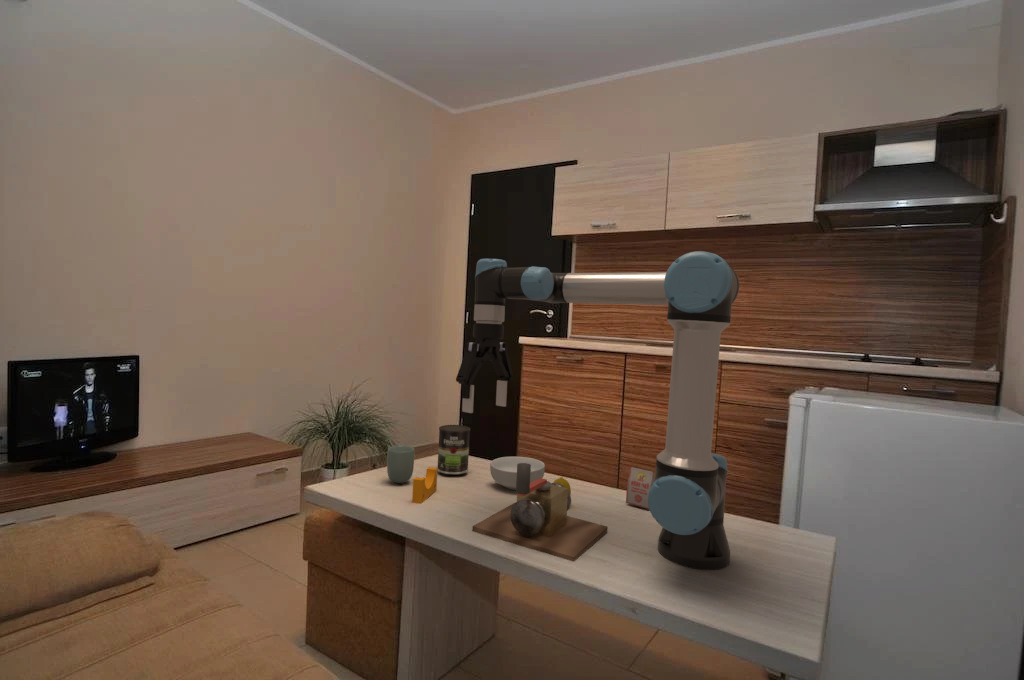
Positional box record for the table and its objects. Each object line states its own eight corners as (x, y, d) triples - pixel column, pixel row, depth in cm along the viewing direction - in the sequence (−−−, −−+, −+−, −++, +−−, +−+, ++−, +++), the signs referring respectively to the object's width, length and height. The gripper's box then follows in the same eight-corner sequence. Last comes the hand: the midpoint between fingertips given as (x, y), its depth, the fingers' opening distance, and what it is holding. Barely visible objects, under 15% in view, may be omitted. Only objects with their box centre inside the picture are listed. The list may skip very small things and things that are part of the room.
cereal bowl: (500, 474, 165) (501, 453, 165) (549, 482, 160) (550, 460, 160) (480, 490, 149) (482, 466, 149) (535, 499, 144) (536, 474, 143)
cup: (418, 480, 155) (419, 448, 154) (399, 487, 148) (401, 453, 148) (399, 475, 159) (401, 444, 158) (381, 481, 152) (382, 448, 152)
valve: (572, 520, 125) (574, 484, 125) (542, 543, 112) (544, 502, 111) (539, 511, 130) (541, 477, 130) (507, 532, 116) (509, 493, 116)
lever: (539, 484, 123) (541, 453, 123) (553, 487, 121) (554, 455, 121) (511, 499, 111) (513, 464, 111) (526, 503, 110) (527, 468, 109)
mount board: (607, 532, 123) (607, 526, 123) (573, 564, 106) (573, 557, 105) (515, 507, 136) (515, 502, 136) (472, 532, 119) (472, 526, 119)
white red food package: (631, 499, 147) (633, 465, 147) (653, 505, 143) (655, 470, 143) (625, 503, 144) (627, 468, 144) (648, 509, 140) (650, 473, 140)
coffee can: (468, 475, 163) (470, 431, 162) (436, 474, 162) (438, 430, 162) (468, 465, 173) (470, 425, 173) (438, 465, 172) (440, 424, 172)
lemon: (567, 511, 136) (569, 481, 135) (547, 507, 137) (549, 478, 137) (571, 504, 141) (573, 476, 141) (552, 501, 143) (554, 473, 142)
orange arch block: (422, 488, 149) (423, 466, 148) (436, 489, 148) (437, 468, 148) (406, 502, 137) (407, 478, 137) (421, 503, 136) (422, 480, 136)
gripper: (505, 323, 136) (501, 401, 137) (443, 320, 116) (439, 412, 116) (528, 324, 132) (525, 405, 133) (468, 321, 111) (464, 417, 112)
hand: (485, 409), depth 125 cm, fingers open, 13 cm apart
